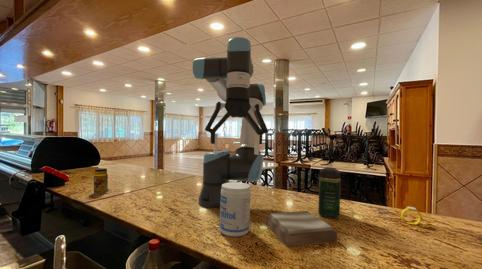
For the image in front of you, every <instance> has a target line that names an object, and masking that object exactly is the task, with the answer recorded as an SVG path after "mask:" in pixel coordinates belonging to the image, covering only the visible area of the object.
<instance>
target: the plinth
mask: <svg viewBox="0 0 482 269" xmlns="http://www.w3.org/2000/svg"><path fill="white" fill-rule="evenodd" d="M265 225H267V226H268V228H269V229H270V230H271V231H272V232H273V233H274V235H276V236H277V238H278V239H279V240H280V241H281V242H282V243H283V244H284V245H285V247H287V248H291V247H292V248H293V247H301V246H309V245H310V246H311V245H318V244H319V245H320V244H326V243H336V242H338V231H337V230H336V229H334V228H333V226H331V225H330V224H329V223H327V222H325V221H324V220H322V219H321V218H319V217H317V216H316V215H314V214H312V213H311V212H309V211H308V210H302V211H301V210H300V211H288V212H287V211H286V212H273V213H272V212H271V213H269V215H266V222H265Z"/></svg>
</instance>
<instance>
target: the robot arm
mask: <svg viewBox="0 0 482 269" xmlns="http://www.w3.org/2000/svg"><path fill="white" fill-rule="evenodd" d="M251 48H252V47H251V41H250V39H249V38H246V37H243V36H242V37H241V36H236V37H235V36H234V37H232V38H230V39H229V40H228V41H227V49H226V57H225V56H223V57H204V56H203V57H199V58H195V59H194V60H193V62H192V74H193V76H194V78H196V80H197V79H198V80H206V81H207V82H208V83H209V85H210V86H212V88H213V90H215V92H216V94H217V96H218V97H219V99H220V100H222V101H224V102H225V103H223V102H221V101H217V102H216V104H215V107H214V108H215V109H214V111H213V113H212V114H211V117H210V119H209V120H208V122H207V124H206V126H205V128H204V131H205V132H208V133H210V144H212V145H213V151H210V152H207V153H206V152H205V153H204V155H203V162H202V165H203V166H202V186H201V189H200V193H199V196H198V205H199V206H201V207H204V208H210V209H212V208H214V209H215V208H216V209H217V208H218V209H220V201H221V189H222V184H224V183H230V181H236V182H238V181H240V182H241V181H242V182H249V183H250V182H257V181H259V180H260V179H261V177H262V173H263V167H264V155H262V154H261V150H260V145H262V144H263V135H264V134H266V133H268V132H269V129H268V127H267V125H266V122H265V121H264V118H263V116H262V114H261V111H262V110H263V108H264V106H266V105H267V104H266V103H267V99H266V88H265V85H264V84H263V83H258V82H256V83H251V78H252V77H253V75H254V64H253V62H252V57H251V56H252V54H251V51H252V49H251ZM223 108H224V109H225V110H226V113H225V114H224V115H223V116H222V117H221V119H220V120H218V122H217V123H216V124H215V125H214V126H213V124H214V122H215V121H216V118H217V117H218V114H219V113H220V111H221V110H222V109H223ZM230 117H231V118H240V119H242V120H241V128H240V137H239V147H237V148H236V149H235V152H234V153H231V151H230V150H229V149H228V150H218V138H219V137H218V135H219V134H218V133H216V132H217V131H218V130H219V129H220V128H221V127H222V125H223V124H224V123H225V122H226V120H228V119H229V118H230ZM212 126H213V127H212Z"/></svg>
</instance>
